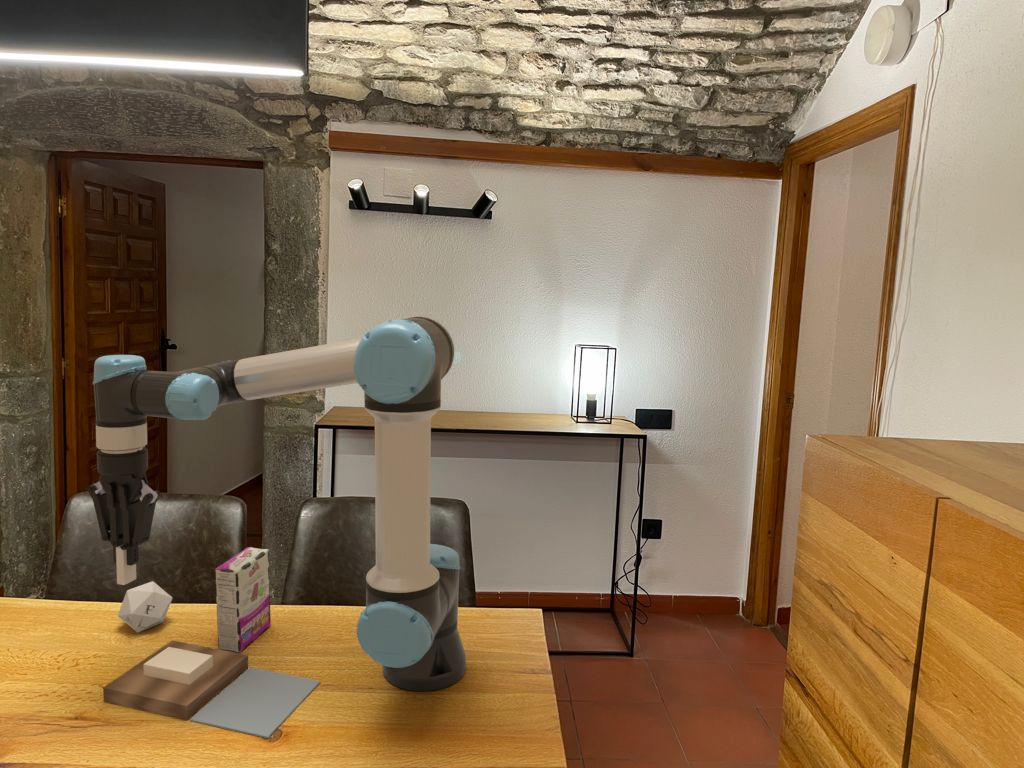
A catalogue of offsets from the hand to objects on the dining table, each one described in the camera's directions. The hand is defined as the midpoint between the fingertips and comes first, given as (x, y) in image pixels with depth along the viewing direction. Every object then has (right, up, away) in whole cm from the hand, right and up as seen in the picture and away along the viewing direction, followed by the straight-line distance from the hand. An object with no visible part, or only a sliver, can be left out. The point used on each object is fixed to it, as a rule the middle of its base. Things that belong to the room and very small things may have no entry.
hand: (126, 581), depth 123 cm
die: (-7, -14, +20) cm, 25 cm away
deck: (+9, -18, 0) cm, 20 cm away
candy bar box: (+14, -16, +16) cm, 27 cm away
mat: (+24, -19, -3) cm, 31 cm away
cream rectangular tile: (+9, -15, 0) cm, 18 cm away
